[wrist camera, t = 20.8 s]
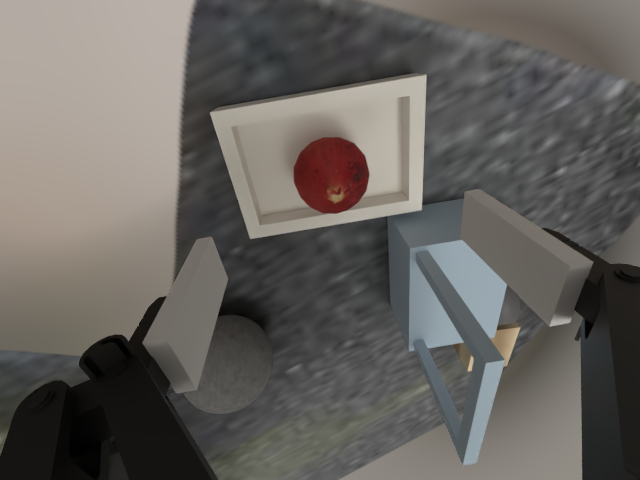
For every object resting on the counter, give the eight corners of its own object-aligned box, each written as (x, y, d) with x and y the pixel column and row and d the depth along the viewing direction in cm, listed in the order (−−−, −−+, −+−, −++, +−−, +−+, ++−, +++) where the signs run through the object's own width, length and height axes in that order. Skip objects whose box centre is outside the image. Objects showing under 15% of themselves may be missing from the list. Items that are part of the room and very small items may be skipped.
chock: (449, 339, 42) (467, 371, 37) (456, 302, 38) (476, 333, 34) (484, 334, 42) (506, 366, 38) (495, 297, 38) (520, 327, 34)
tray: (253, 224, 30) (250, 239, 28) (217, 107, 24) (209, 112, 22) (411, 198, 30) (421, 210, 27) (413, 73, 24) (426, 74, 22)
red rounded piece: (349, 117, 25) (369, 139, 18) (366, 180, 28) (390, 219, 21) (283, 142, 25) (279, 172, 18) (307, 201, 28) (311, 246, 21)
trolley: (390, 312, 38) (453, 477, 23) (387, 211, 30) (477, 358, 15) (484, 297, 38) (610, 453, 23) (505, 191, 30) (711, 320, 15)
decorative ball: (195, 352, 39) (168, 434, 30) (189, 294, 34) (154, 372, 25) (273, 354, 40) (267, 433, 32) (277, 298, 35) (272, 374, 27)
